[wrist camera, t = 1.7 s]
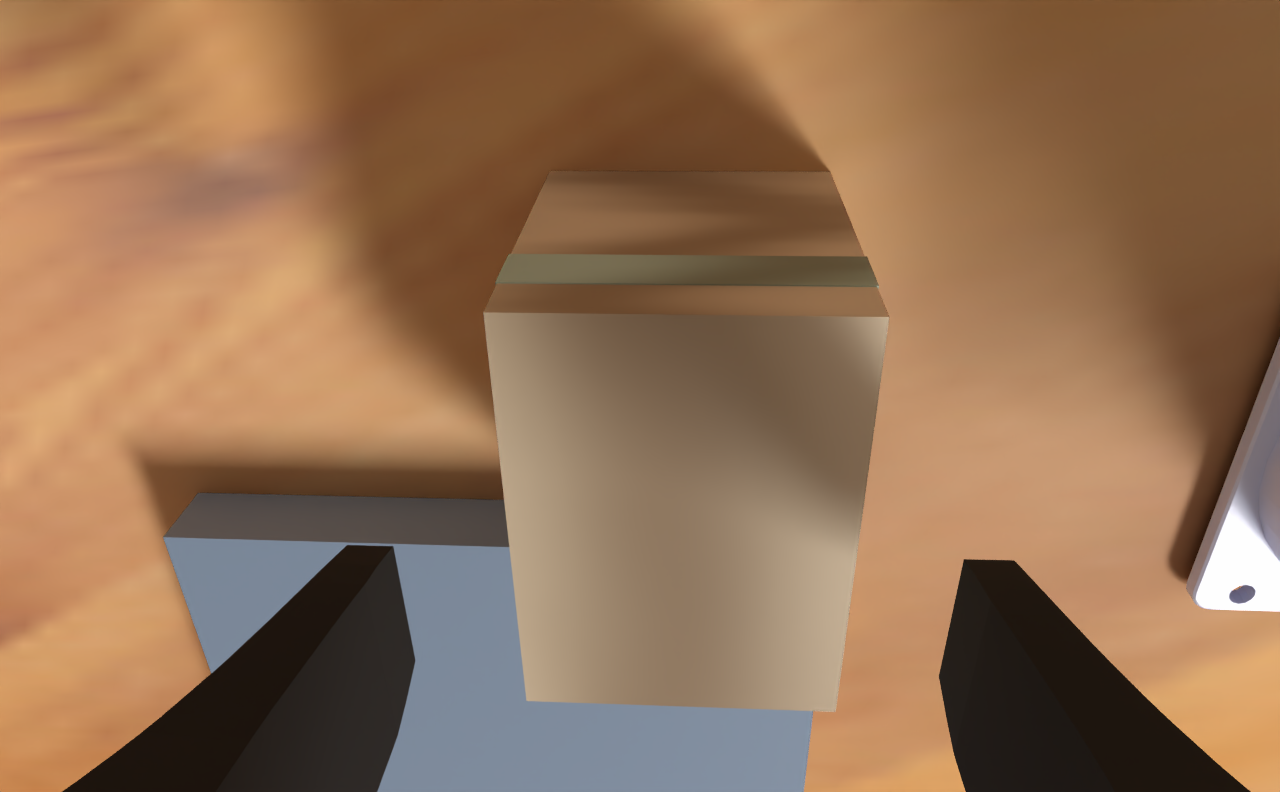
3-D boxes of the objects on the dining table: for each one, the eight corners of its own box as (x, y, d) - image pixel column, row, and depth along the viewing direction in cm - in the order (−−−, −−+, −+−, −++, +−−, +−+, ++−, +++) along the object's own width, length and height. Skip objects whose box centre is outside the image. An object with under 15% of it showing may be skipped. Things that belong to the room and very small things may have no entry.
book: (820, 496, 20) (831, 555, 19) (772, 949, 30) (776, 1016, 28) (207, 481, 21) (163, 537, 19) (345, 925, 30) (324, 990, 29)
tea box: (831, 169, 16) (890, 315, 11) (801, 490, 20) (836, 712, 15) (549, 168, 17) (481, 310, 11) (569, 484, 20) (525, 701, 15)
